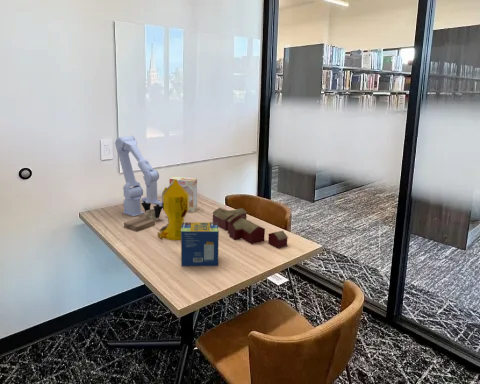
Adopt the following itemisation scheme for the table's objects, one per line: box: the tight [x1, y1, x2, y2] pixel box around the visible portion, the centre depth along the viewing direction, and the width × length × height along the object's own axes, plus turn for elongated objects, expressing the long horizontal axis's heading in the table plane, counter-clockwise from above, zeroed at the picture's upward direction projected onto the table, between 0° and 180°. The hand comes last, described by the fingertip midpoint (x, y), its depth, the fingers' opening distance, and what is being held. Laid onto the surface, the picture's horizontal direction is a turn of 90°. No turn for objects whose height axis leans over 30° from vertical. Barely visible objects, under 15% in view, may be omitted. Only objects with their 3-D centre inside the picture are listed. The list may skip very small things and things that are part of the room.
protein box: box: [180, 221, 220, 267], centre depth 153 cm, size 10×15×16 cm
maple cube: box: [145, 208, 160, 222], centre depth 203 cm, size 5×5×5 cm
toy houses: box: [212, 207, 289, 249], centre depth 185 cm, size 45×20×10 cm, turn 35°
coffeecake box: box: [169, 175, 198, 213], centre depth 218 cm, size 15×7×20 cm, turn 77°
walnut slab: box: [123, 216, 156, 233], centre depth 192 cm, size 10×12×3 cm
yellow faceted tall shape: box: [157, 179, 189, 242], centre depth 179 cm, size 18×24×28 cm
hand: (152, 216), depth 203 cm, fingers open, 7 cm apart
